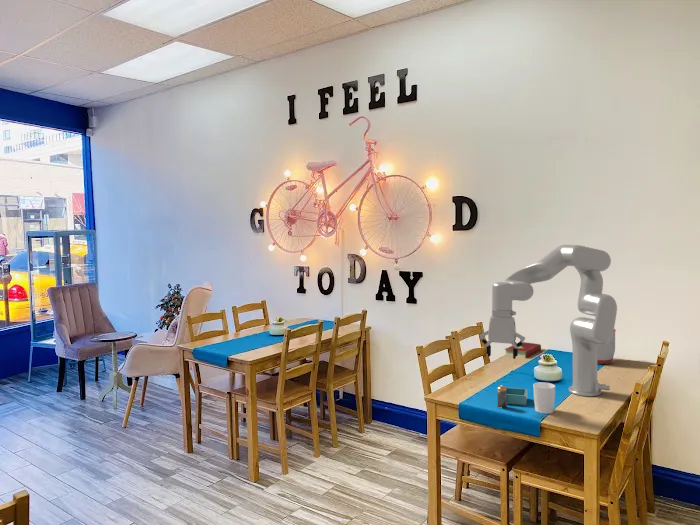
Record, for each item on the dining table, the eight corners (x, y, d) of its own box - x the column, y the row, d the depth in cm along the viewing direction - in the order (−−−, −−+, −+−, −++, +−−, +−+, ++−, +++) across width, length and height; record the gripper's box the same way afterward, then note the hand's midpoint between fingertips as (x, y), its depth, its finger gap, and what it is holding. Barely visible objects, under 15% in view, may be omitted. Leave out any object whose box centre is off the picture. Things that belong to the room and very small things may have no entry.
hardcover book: (541, 351, 295) (541, 343, 295) (526, 359, 279) (525, 351, 279) (520, 348, 303) (520, 341, 303) (504, 355, 287) (504, 348, 287)
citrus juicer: (572, 360, 273) (572, 322, 271) (599, 356, 278) (599, 319, 276) (594, 367, 258) (594, 327, 256) (623, 363, 263) (623, 324, 261)
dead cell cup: (527, 398, 216) (527, 389, 215) (525, 406, 207) (525, 396, 207) (503, 396, 219) (503, 387, 219) (501, 403, 210) (501, 394, 210)
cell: (507, 406, 208) (506, 384, 207) (506, 409, 204) (506, 387, 204) (498, 405, 209) (497, 384, 208) (497, 408, 206) (496, 386, 205)
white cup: (550, 406, 205) (550, 381, 205) (558, 414, 197) (558, 387, 197) (530, 407, 205) (530, 382, 204) (538, 414, 197) (537, 388, 196)
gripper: (526, 313, 205) (525, 356, 206) (481, 311, 212) (481, 353, 213) (524, 316, 198) (523, 361, 199) (477, 314, 205) (477, 357, 206)
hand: (501, 357), depth 206 cm, fingers open, 9 cm apart
